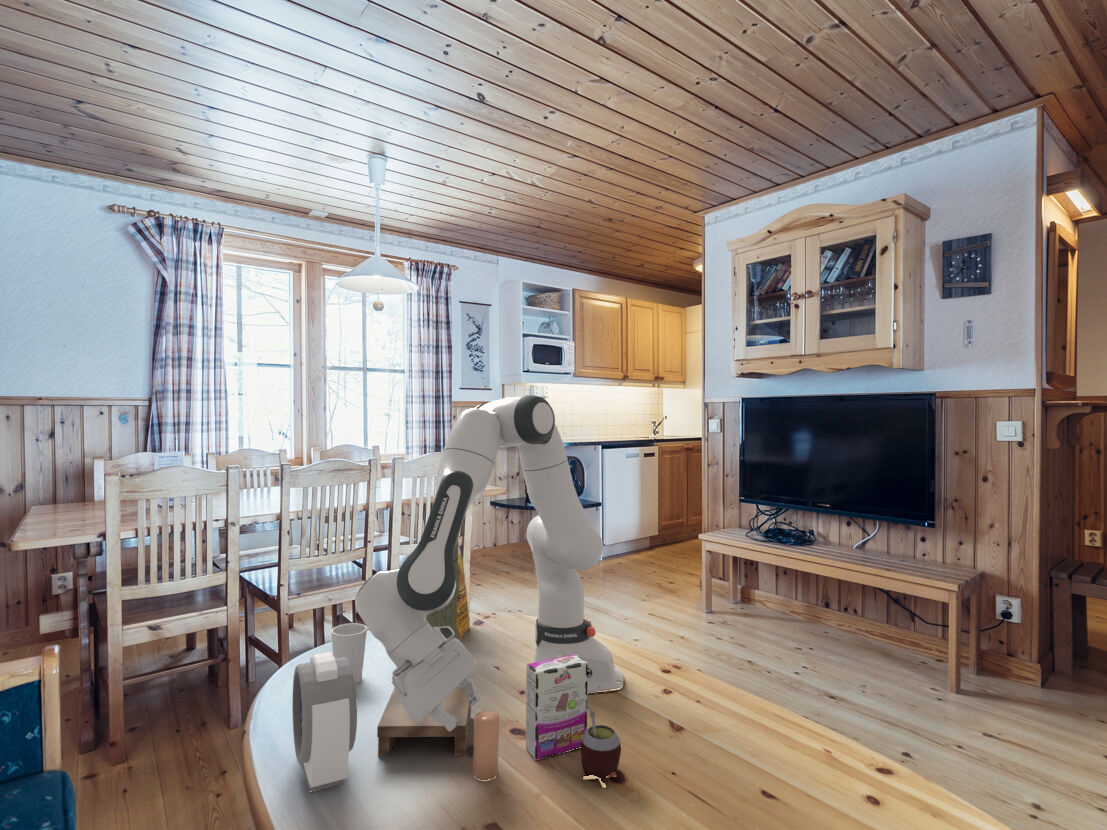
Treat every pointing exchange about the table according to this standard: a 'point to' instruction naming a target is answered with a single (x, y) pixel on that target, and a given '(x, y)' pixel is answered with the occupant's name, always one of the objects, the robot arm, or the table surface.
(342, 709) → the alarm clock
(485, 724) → the peach cylinder
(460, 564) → the pancake mix bag
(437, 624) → the thermos
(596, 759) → the mate gourd
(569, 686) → the candy bar box
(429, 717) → the walnut shelf
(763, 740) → the table surface
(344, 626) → the cup
